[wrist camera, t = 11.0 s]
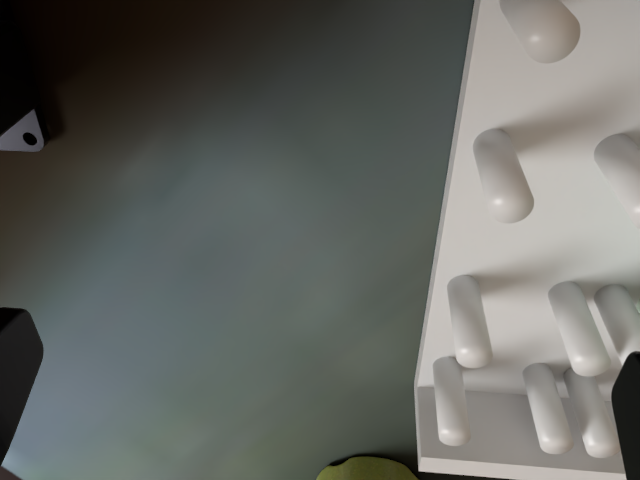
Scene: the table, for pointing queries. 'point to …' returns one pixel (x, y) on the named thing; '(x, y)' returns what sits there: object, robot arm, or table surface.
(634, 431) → the robot arm
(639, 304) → the green square slab
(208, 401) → the table surface
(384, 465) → the plant pot
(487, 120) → the dish rack
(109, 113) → the table surface
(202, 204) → the table surface
